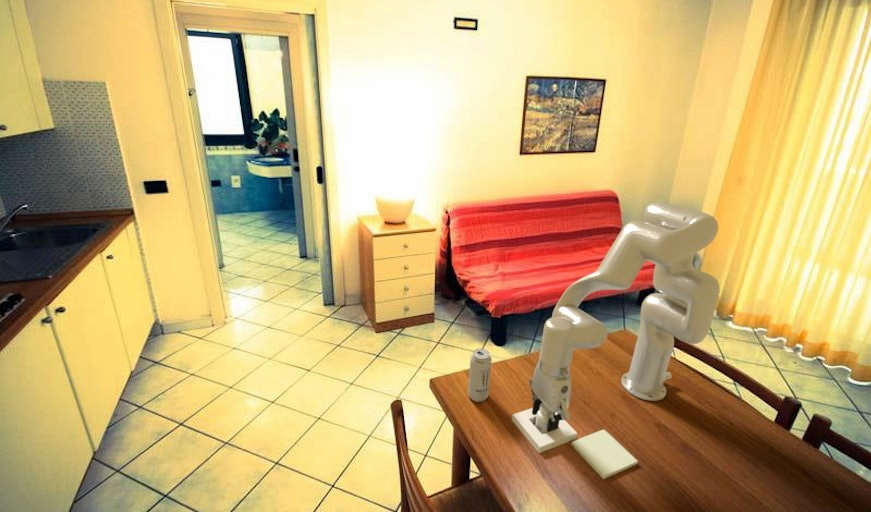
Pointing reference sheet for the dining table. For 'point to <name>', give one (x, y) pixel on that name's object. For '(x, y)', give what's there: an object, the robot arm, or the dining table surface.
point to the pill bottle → (542, 418)
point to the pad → (604, 453)
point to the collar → (546, 440)
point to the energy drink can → (479, 375)
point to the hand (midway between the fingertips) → (544, 420)
